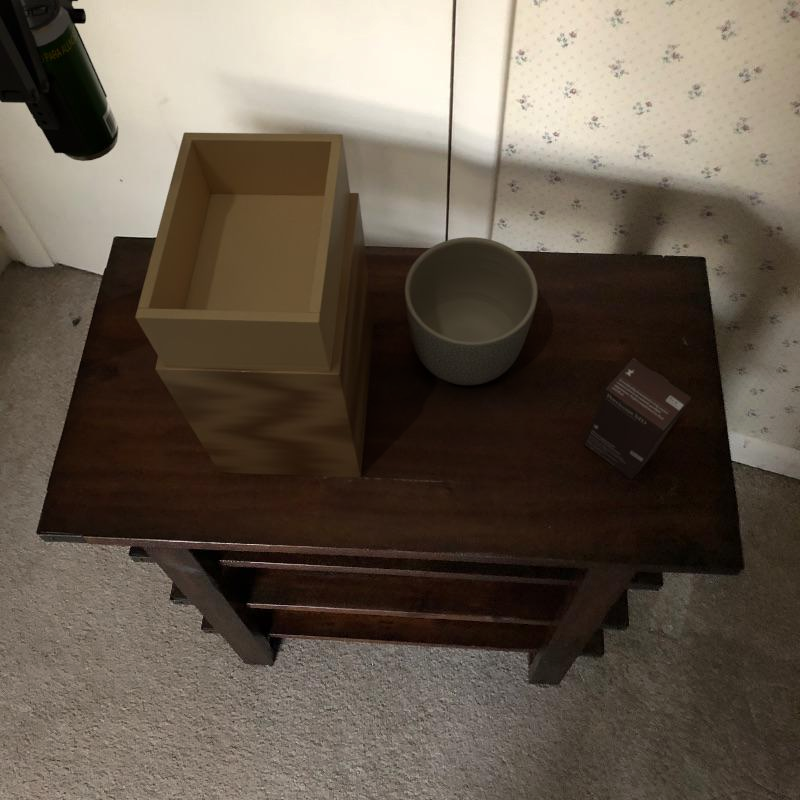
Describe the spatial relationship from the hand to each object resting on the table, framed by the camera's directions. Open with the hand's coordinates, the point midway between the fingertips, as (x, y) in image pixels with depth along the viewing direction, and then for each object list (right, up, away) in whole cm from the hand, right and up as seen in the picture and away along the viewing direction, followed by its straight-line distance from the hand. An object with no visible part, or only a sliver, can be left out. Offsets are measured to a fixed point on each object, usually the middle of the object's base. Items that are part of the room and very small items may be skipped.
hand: (81, 123), depth 64 cm
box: (+48, -28, +11) cm, 57 cm away
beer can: (0, -1, +2) cm, 2 cm away
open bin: (+16, -13, -3) cm, 21 cm away
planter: (+34, -18, +17) cm, 42 cm away
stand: (+16, -23, +15) cm, 32 cm away
